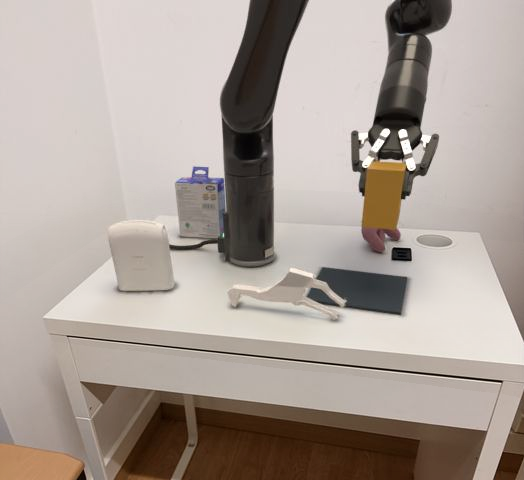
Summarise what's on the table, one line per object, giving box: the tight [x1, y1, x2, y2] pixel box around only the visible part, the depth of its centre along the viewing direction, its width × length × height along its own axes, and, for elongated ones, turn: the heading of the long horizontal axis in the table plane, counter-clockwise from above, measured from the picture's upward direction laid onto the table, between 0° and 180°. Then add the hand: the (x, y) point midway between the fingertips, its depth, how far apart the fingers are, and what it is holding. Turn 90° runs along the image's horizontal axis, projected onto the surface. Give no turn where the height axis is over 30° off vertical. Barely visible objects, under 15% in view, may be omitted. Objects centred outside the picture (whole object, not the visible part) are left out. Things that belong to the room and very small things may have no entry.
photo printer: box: [107, 219, 176, 292], centre depth 84 cm, size 10×4×12 cm, turn 89°
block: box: [360, 161, 407, 230], centre depth 76 cm, size 5×5×9 cm
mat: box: [306, 266, 408, 316], centre depth 86 cm, size 16×14×1 cm
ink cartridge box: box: [174, 166, 226, 240], centre depth 106 cm, size 10×6×14 cm, turn 78°
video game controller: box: [360, 227, 402, 253], centre depth 102 cm, size 10×5×7 cm, turn 144°
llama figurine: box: [227, 267, 347, 321], centre depth 78 cm, size 2×11×18 cm
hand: (383, 195), depth 75 cm, fingers closed on block, 5 cm apart
